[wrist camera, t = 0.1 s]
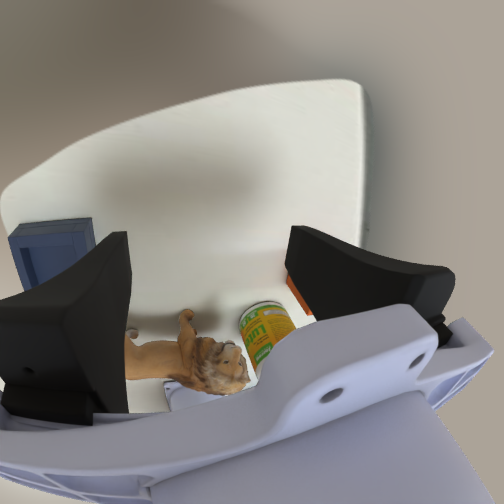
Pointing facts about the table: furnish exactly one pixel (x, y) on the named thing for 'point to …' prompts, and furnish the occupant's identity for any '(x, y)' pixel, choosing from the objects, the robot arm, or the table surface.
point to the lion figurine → (188, 361)
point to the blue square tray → (49, 248)
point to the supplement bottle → (264, 331)
